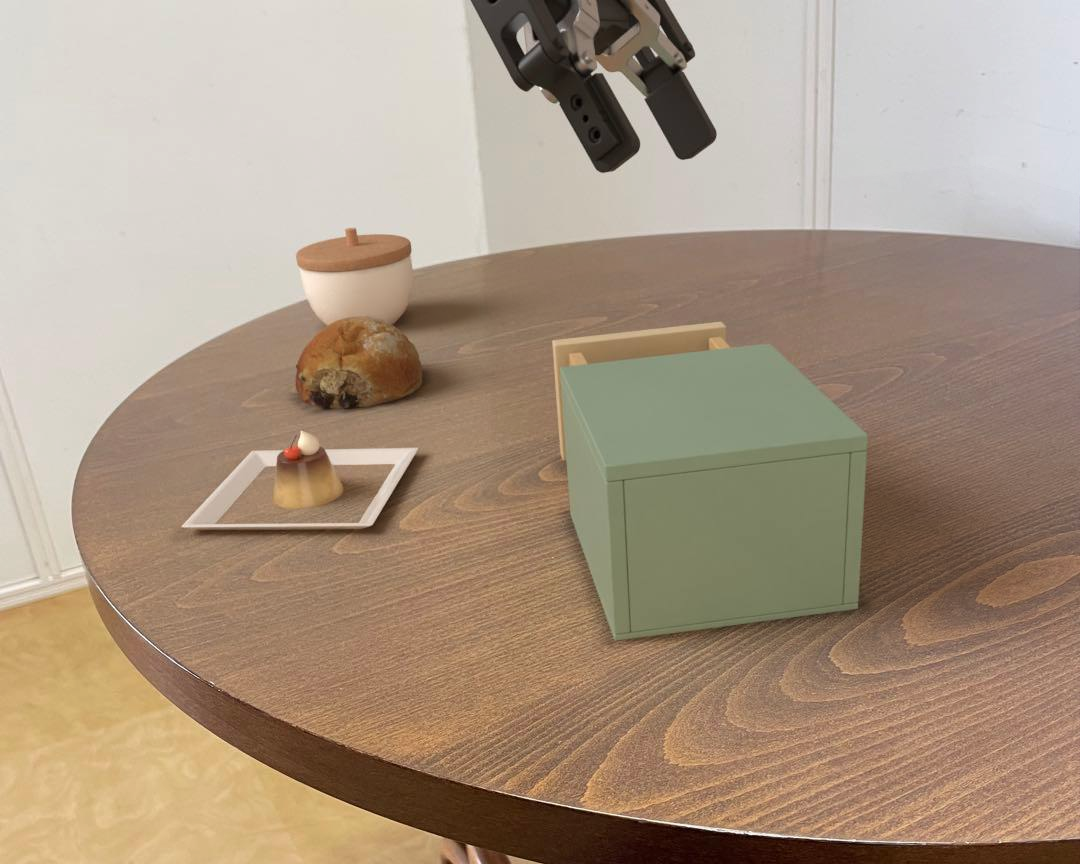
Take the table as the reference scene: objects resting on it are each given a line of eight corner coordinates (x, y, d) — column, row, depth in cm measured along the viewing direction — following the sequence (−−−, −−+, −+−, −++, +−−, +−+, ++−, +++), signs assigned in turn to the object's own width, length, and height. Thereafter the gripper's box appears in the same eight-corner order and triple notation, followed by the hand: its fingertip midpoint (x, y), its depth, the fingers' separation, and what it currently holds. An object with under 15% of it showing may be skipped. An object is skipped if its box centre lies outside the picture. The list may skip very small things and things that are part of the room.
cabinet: (570, 520, 67) (559, 366, 63) (768, 496, 68) (770, 342, 64) (615, 649, 54) (604, 466, 50) (858, 617, 55) (868, 434, 51)
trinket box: (415, 339, 104) (402, 236, 100) (300, 348, 104) (281, 246, 100) (425, 308, 113) (413, 213, 109) (319, 316, 114) (303, 222, 110)
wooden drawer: (551, 432, 78) (543, 322, 75) (706, 414, 79) (704, 304, 75) (594, 545, 62) (586, 412, 59) (786, 521, 63) (789, 389, 60)
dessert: (184, 543, 69) (166, 471, 66) (255, 465, 79) (241, 400, 77) (374, 542, 67) (362, 467, 65) (420, 462, 77) (412, 396, 75)
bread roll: (437, 436, 91) (459, 338, 90) (334, 419, 84) (357, 313, 83) (364, 411, 98) (384, 320, 97) (263, 394, 90) (283, 295, 89)
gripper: (457, -247, 45) (659, 114, 45) (621, -186, 56) (781, 103, 57) (345, -110, 49) (530, 216, 50) (517, -79, 61) (667, 187, 61)
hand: (663, 156), depth 53 cm, fingers open, 8 cm apart
